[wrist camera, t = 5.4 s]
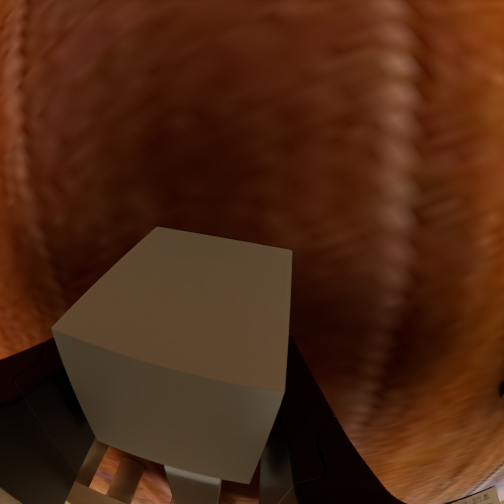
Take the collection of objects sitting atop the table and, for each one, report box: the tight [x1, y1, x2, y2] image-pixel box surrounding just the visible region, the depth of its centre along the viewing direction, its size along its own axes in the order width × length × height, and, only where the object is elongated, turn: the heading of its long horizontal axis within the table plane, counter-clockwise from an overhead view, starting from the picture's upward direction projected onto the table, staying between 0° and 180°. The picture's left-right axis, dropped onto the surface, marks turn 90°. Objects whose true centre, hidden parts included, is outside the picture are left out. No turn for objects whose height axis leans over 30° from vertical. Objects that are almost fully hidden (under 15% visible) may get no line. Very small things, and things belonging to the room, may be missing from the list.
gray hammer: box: [51, 226, 292, 504], centre depth 11 cm, size 4×20×5 cm, turn 172°
